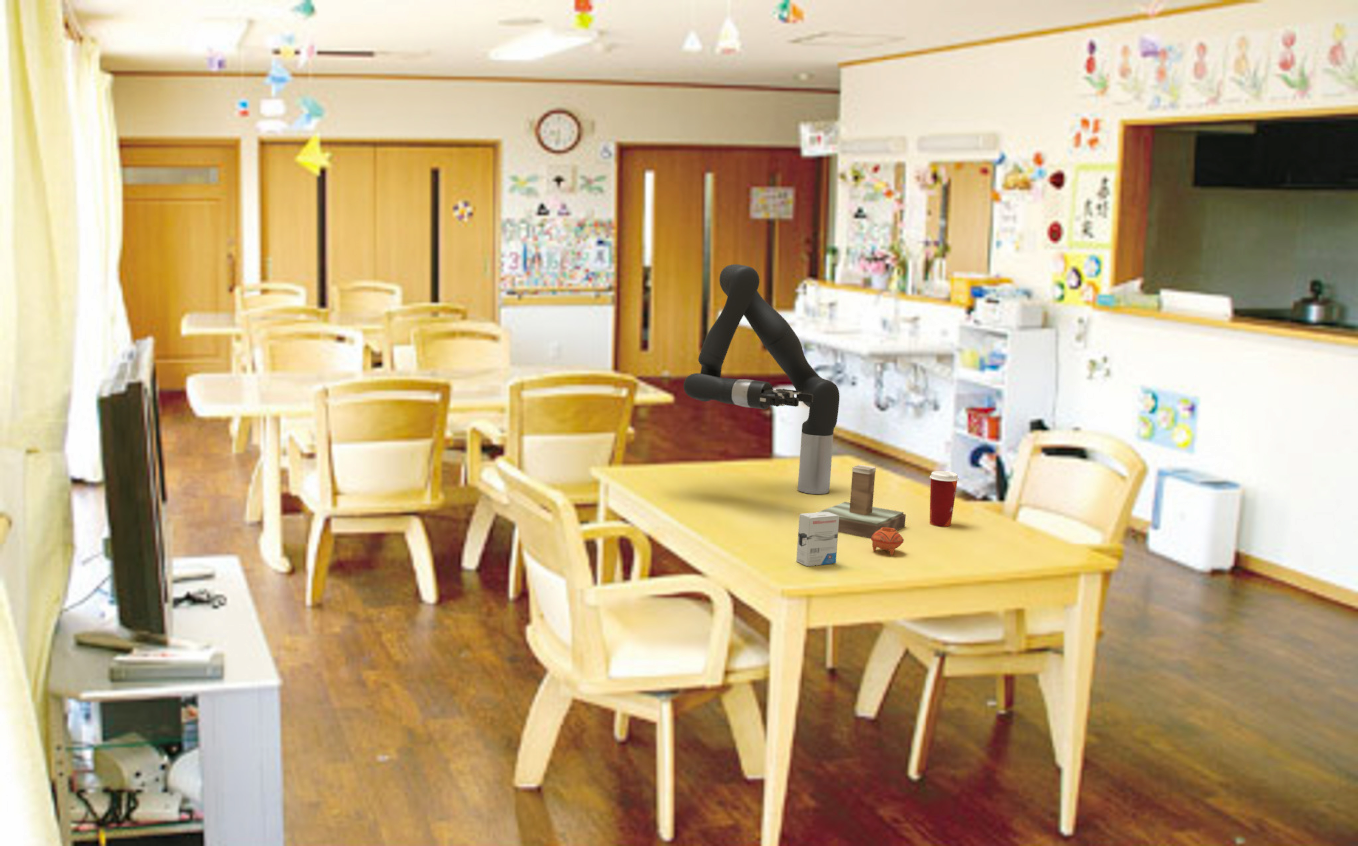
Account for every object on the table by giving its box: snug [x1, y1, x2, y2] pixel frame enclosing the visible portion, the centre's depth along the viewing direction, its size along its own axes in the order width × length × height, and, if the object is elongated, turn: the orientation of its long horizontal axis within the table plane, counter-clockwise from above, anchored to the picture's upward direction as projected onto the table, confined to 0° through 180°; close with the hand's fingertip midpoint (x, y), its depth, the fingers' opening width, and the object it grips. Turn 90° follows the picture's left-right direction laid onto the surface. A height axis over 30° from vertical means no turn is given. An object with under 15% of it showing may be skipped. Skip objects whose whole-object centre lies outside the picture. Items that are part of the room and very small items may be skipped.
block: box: [849, 464, 877, 515], centre depth 365 cm, size 5×5×12 cm
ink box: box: [796, 511, 839, 567], centre depth 328 cm, size 8×5×12 cm, turn 118°
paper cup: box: [929, 470, 959, 528], centre depth 374 cm, size 8×8×14 cm
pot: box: [870, 527, 905, 556], centre depth 342 cm, size 8×8×7 cm
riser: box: [816, 501, 907, 539], centre depth 366 cm, size 18×18×4 cm
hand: (805, 400), depth 372 cm, fingers open, 8 cm apart
